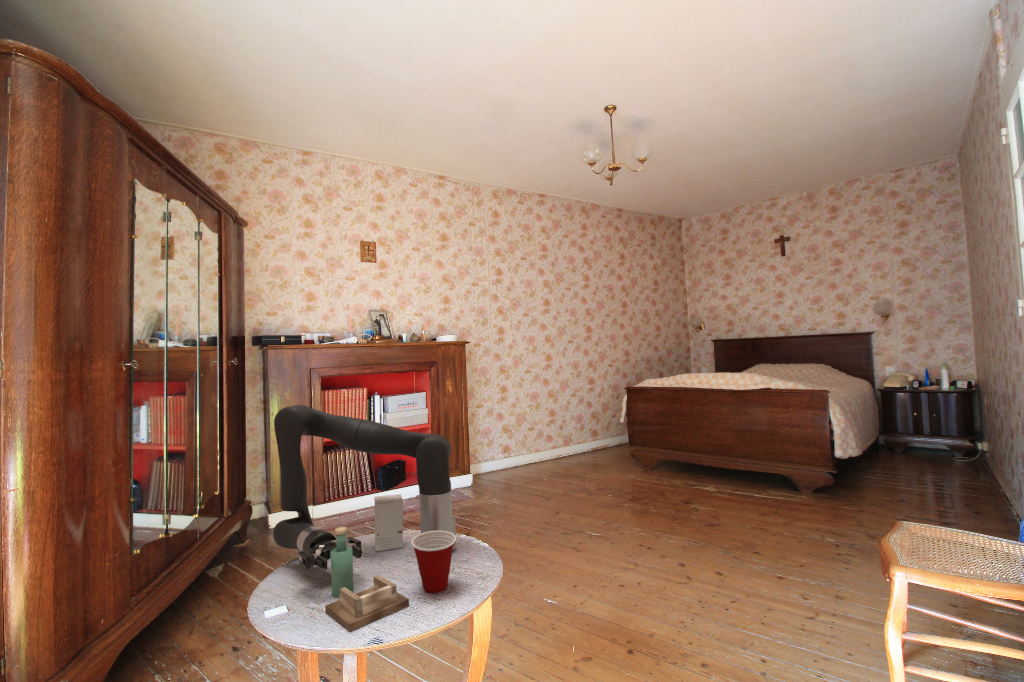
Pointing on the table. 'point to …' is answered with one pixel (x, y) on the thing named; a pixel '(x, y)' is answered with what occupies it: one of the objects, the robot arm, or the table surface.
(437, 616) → the table surface
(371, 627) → the table surface
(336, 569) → the green bottle
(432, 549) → the plastic cup
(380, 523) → the skincare box
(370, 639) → the table surface
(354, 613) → the bottle cradle
